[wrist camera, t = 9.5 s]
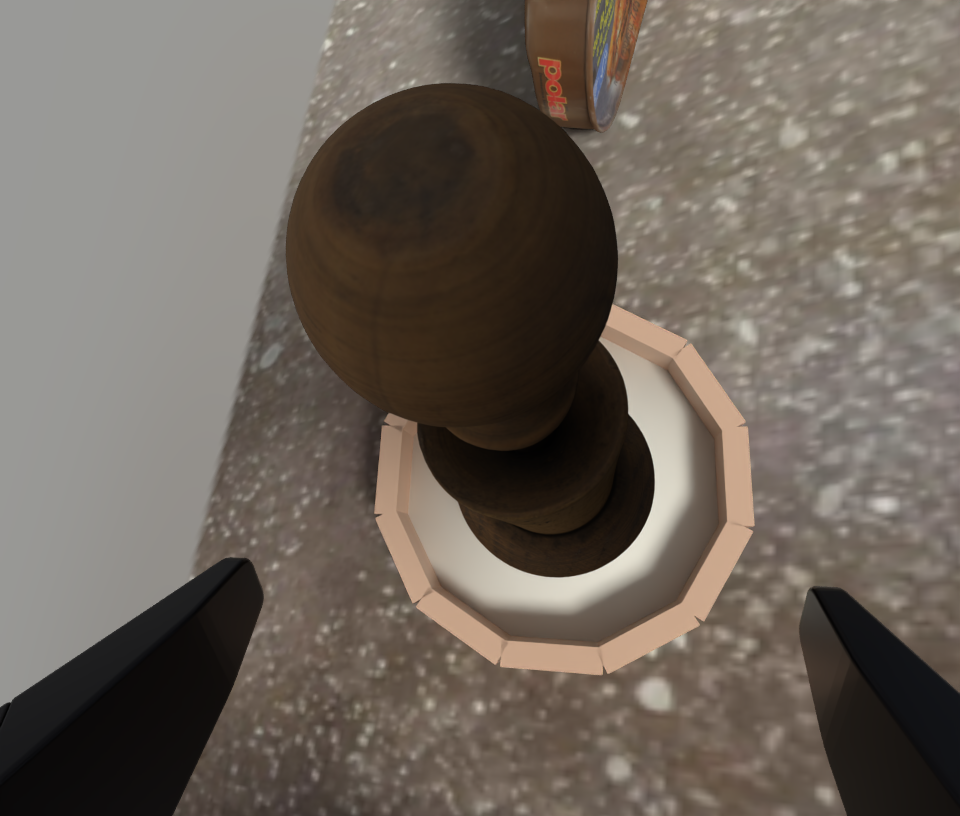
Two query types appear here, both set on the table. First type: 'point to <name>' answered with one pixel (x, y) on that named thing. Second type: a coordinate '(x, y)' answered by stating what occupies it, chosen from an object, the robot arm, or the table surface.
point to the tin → (581, 57)
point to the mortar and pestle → (479, 314)
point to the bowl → (621, 583)
